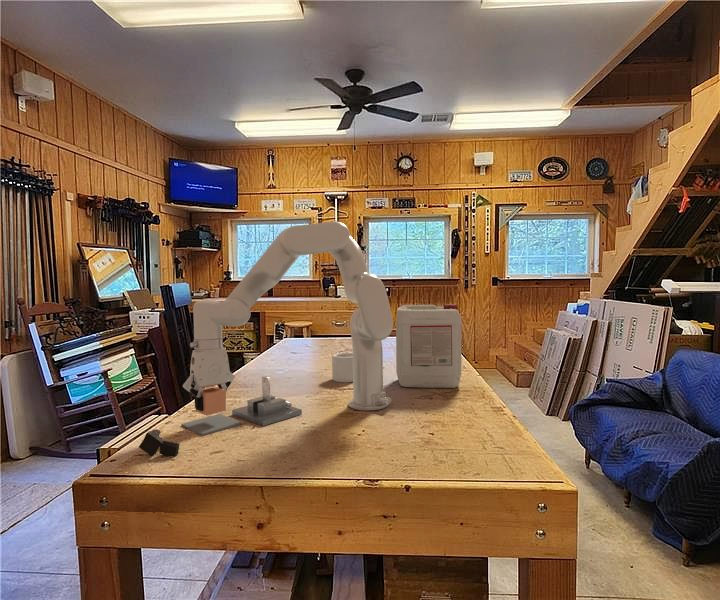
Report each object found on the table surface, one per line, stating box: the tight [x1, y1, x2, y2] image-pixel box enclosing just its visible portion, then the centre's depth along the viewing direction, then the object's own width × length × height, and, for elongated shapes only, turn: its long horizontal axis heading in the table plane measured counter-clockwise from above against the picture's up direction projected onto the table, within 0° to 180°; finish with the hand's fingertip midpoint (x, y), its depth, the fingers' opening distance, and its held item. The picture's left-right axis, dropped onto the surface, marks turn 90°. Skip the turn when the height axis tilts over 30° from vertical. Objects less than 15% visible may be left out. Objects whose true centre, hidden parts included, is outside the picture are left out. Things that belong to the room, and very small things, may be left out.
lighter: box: [138, 429, 180, 457], centre depth 111 cm, size 9×2×6 cm
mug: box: [331, 352, 353, 383], centre depth 185 cm, size 14×11×10 cm
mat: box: [181, 413, 243, 437], centre depth 132 cm, size 12×12×1 cm
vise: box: [231, 375, 303, 427], centre depth 140 cm, size 16×14×12 cm
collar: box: [195, 385, 227, 417], centre depth 131 cm, size 6×6×6 cm
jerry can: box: [395, 303, 463, 389], centre depth 175 cm, size 24×19×30 cm
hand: (210, 407), depth 131 cm, fingers closed on collar, 6 cm apart
